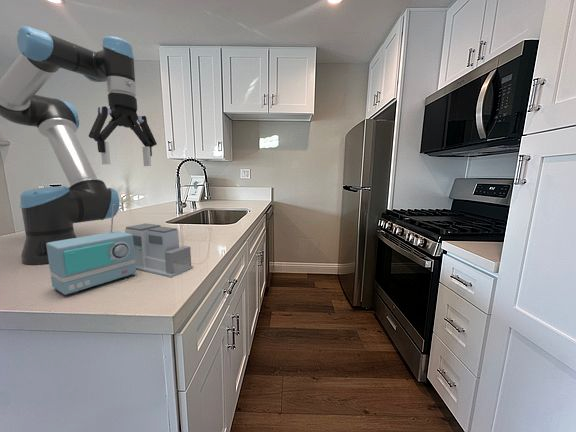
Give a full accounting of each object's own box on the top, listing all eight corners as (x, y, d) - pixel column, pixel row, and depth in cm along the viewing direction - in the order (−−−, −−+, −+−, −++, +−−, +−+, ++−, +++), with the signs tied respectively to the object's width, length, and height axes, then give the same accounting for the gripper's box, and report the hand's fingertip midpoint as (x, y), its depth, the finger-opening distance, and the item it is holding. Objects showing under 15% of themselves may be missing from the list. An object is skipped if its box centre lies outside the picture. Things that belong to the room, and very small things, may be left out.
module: (148, 257, 75) (145, 229, 73) (163, 252, 79) (161, 226, 78) (165, 260, 72) (163, 231, 71) (179, 255, 77) (178, 228, 75)
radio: (66, 300, 57) (54, 212, 53) (52, 290, 61) (40, 208, 58) (139, 276, 70) (132, 205, 67) (122, 270, 75) (116, 202, 71)
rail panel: (124, 266, 77) (123, 255, 76) (147, 258, 84) (146, 248, 84) (171, 277, 69) (170, 265, 69) (192, 268, 77) (192, 256, 76)
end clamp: (166, 272, 71) (164, 252, 70) (185, 264, 78) (184, 245, 77) (172, 273, 70) (171, 253, 69) (191, 265, 77) (190, 246, 76)
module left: (126, 264, 77) (122, 227, 75) (148, 257, 84) (145, 223, 82) (142, 268, 74) (138, 229, 72) (163, 260, 81) (161, 225, 79)
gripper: (84, 79, 65) (93, 163, 69) (165, 104, 88) (168, 166, 91) (67, 83, 68) (77, 163, 72) (149, 106, 91) (154, 166, 94)
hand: (128, 165), depth 81 cm, fingers open, 13 cm apart
